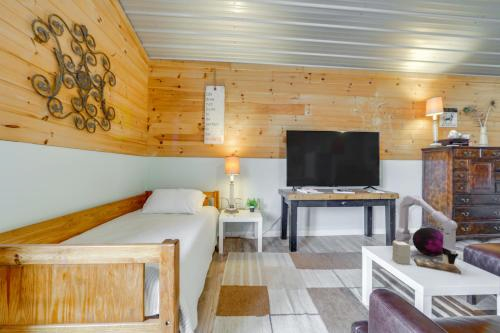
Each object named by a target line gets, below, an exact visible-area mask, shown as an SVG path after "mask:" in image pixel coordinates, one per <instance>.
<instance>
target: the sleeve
mask: <svg viewBox="0 0 500 333" xmlns="http://www.w3.org/2000/svg"><path fill="white" fill-rule="evenodd" d="M442 263H443V265H444V266H446V267H450V268H455V266H456V261H455V262H454V264H449V262H448V257H447V255H444V254H443V255H442Z"/></svg>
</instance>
